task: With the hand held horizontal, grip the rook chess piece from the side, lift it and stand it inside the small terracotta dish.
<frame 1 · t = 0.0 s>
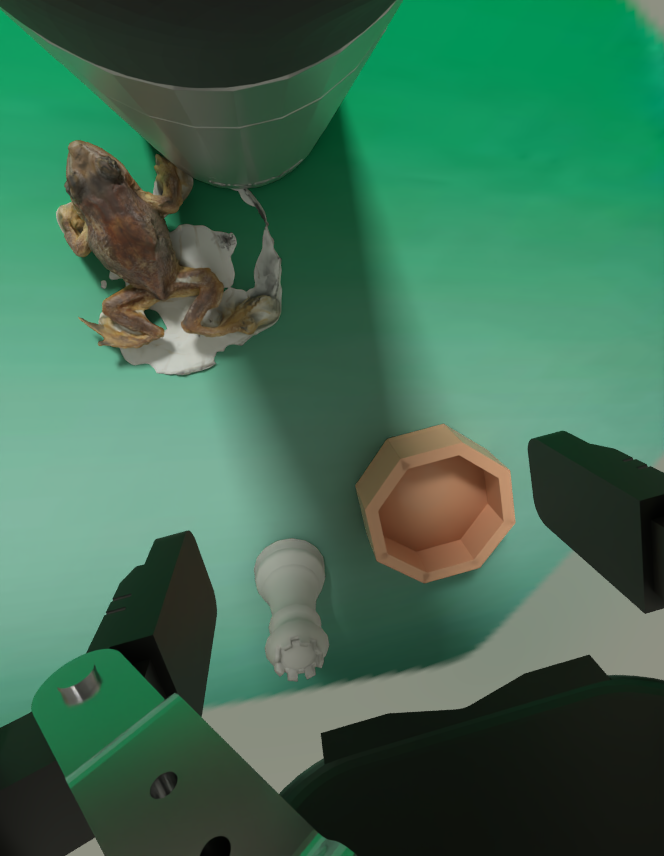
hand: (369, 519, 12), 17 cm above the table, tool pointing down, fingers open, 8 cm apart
dish: (426, 492, 32), on the table
rook chess piece: (289, 562, 32), on the table
frog figurine: (158, 262, 26), on the table
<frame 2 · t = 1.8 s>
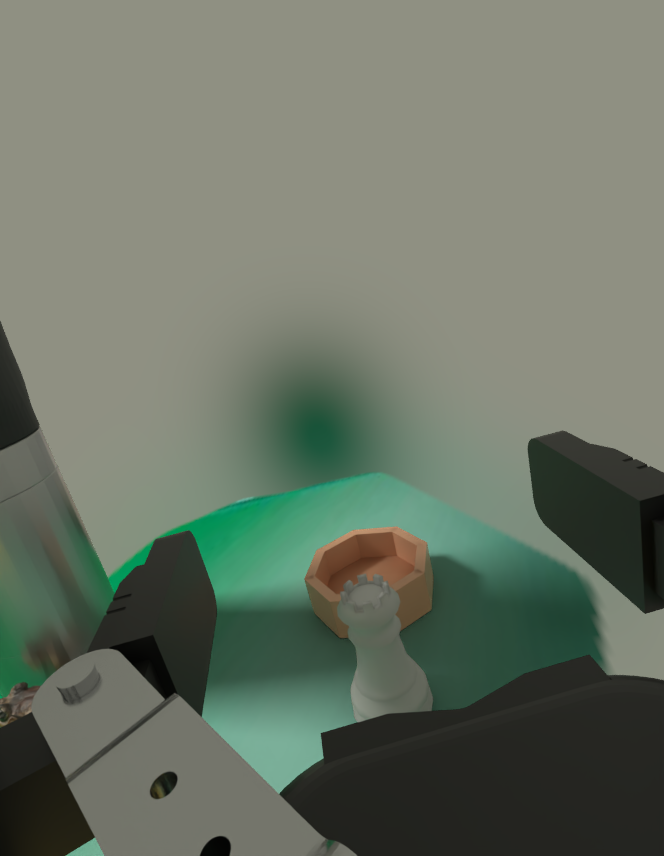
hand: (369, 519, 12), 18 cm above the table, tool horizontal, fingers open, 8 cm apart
dish: (374, 594, 37), on the table
rook chess piece: (394, 710, 28), on the table
frog figurine: (92, 733, 32), on the table
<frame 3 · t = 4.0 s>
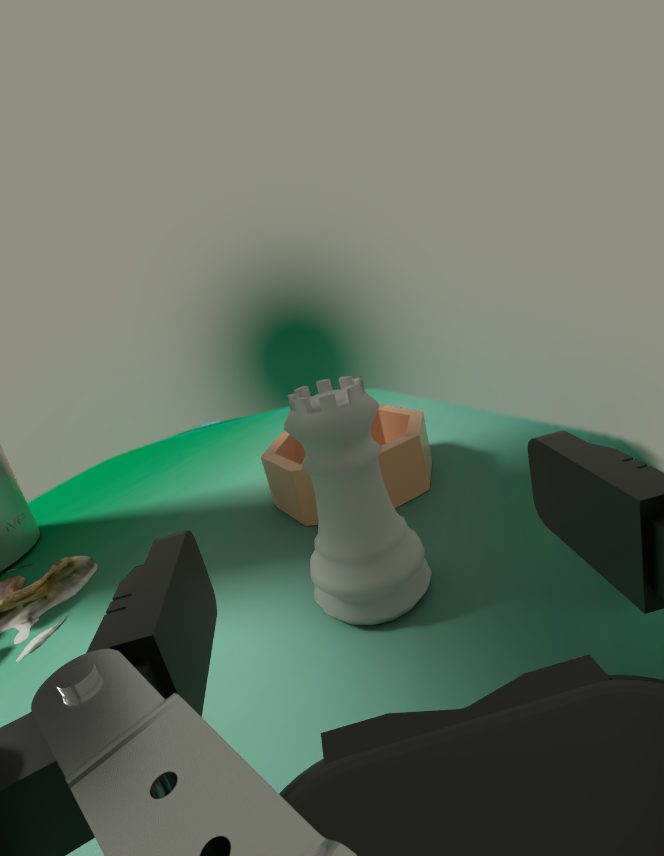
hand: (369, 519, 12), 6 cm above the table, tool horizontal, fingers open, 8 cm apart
dish: (354, 483, 28), on the table
rook chess piece: (375, 594, 19), on the table
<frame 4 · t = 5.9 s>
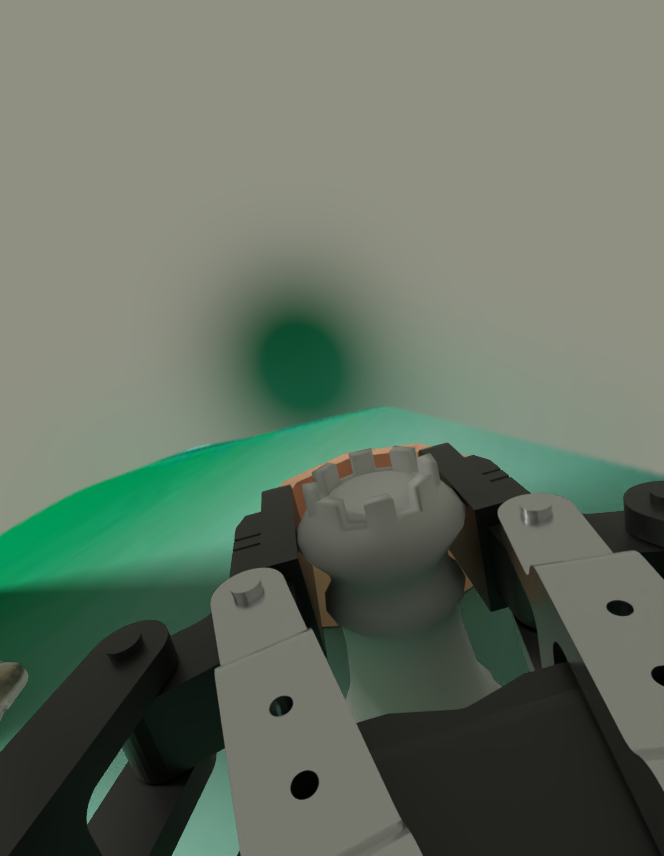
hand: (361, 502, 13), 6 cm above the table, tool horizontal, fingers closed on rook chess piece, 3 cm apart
dish: (383, 553, 21), on the table
rook chess piece: (439, 789, 12), on the table, touching gripper
when the fingers open (8 cm above the table, at t = 10.4 s): rook chess piece drops 1 cm, resting on dish.
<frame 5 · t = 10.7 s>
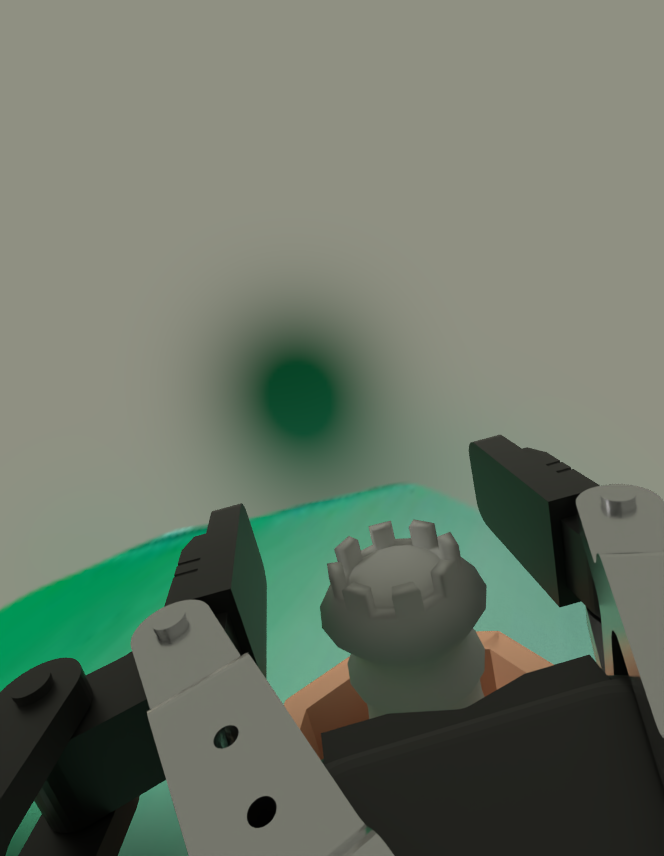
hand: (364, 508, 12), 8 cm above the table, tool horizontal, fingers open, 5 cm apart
dish: (454, 854, 12), on the table
rook chess piece: (457, 843, 12), point 1 cm above the table, touching dish
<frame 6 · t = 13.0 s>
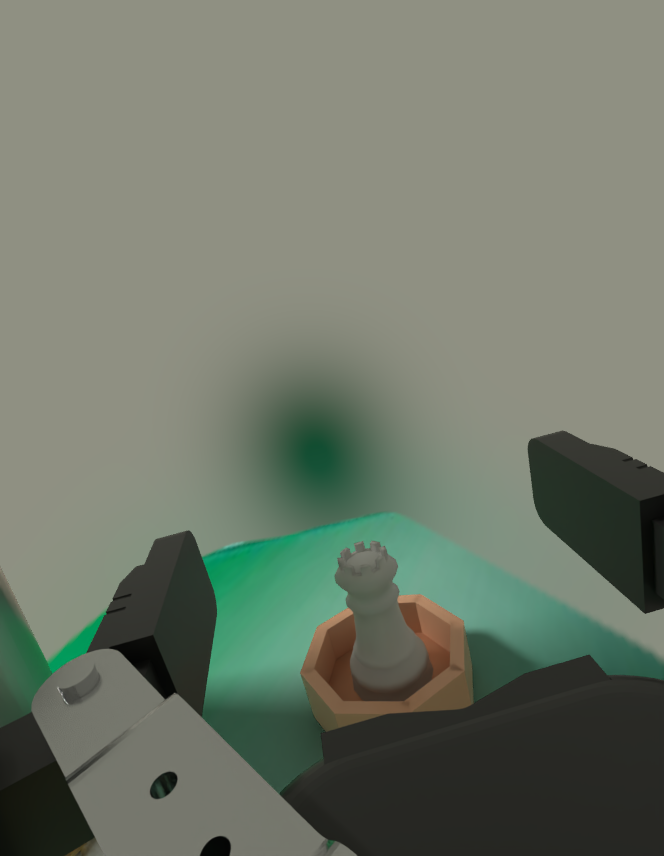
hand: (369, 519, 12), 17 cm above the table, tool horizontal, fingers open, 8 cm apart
dish: (394, 690, 28), on the table
rook chess piece: (394, 683, 28), point 1 cm above the table, touching dish
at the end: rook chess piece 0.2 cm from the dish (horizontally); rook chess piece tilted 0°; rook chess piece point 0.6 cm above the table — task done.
